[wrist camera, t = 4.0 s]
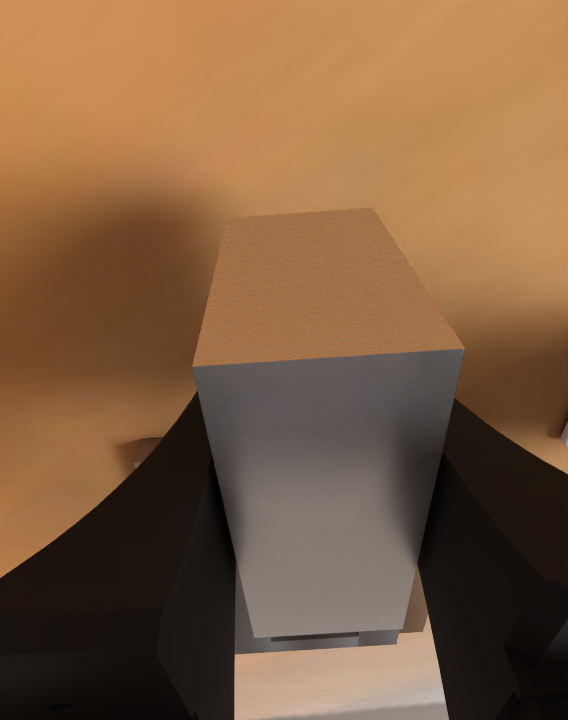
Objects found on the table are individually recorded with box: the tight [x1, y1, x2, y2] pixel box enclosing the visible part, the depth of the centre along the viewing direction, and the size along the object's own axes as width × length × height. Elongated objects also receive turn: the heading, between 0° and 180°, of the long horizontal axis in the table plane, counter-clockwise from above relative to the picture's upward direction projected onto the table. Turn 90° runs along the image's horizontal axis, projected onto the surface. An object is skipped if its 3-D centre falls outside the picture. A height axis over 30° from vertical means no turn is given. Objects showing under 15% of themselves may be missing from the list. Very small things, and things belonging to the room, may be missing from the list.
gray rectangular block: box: [192, 208, 465, 638], centre depth 10 cm, size 4×8×6 cm, turn 3°
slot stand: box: [133, 438, 428, 654], centre depth 26 cm, size 16×20×4 cm
